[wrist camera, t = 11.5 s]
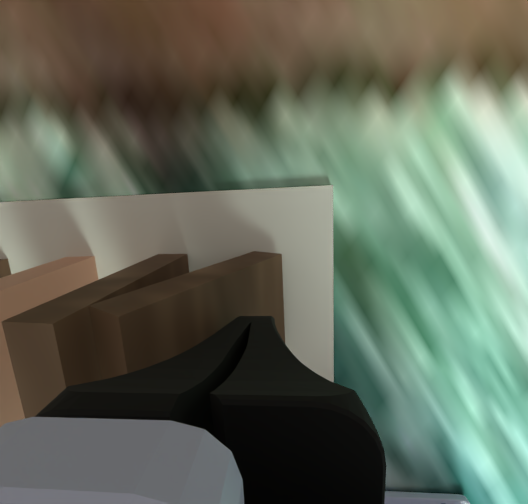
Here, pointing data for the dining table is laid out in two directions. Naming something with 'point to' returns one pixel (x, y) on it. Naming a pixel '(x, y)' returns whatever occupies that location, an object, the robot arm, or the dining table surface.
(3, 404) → the domino
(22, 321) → the domino
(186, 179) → the dining table surface
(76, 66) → the dining table surface
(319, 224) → the board
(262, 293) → the domino
